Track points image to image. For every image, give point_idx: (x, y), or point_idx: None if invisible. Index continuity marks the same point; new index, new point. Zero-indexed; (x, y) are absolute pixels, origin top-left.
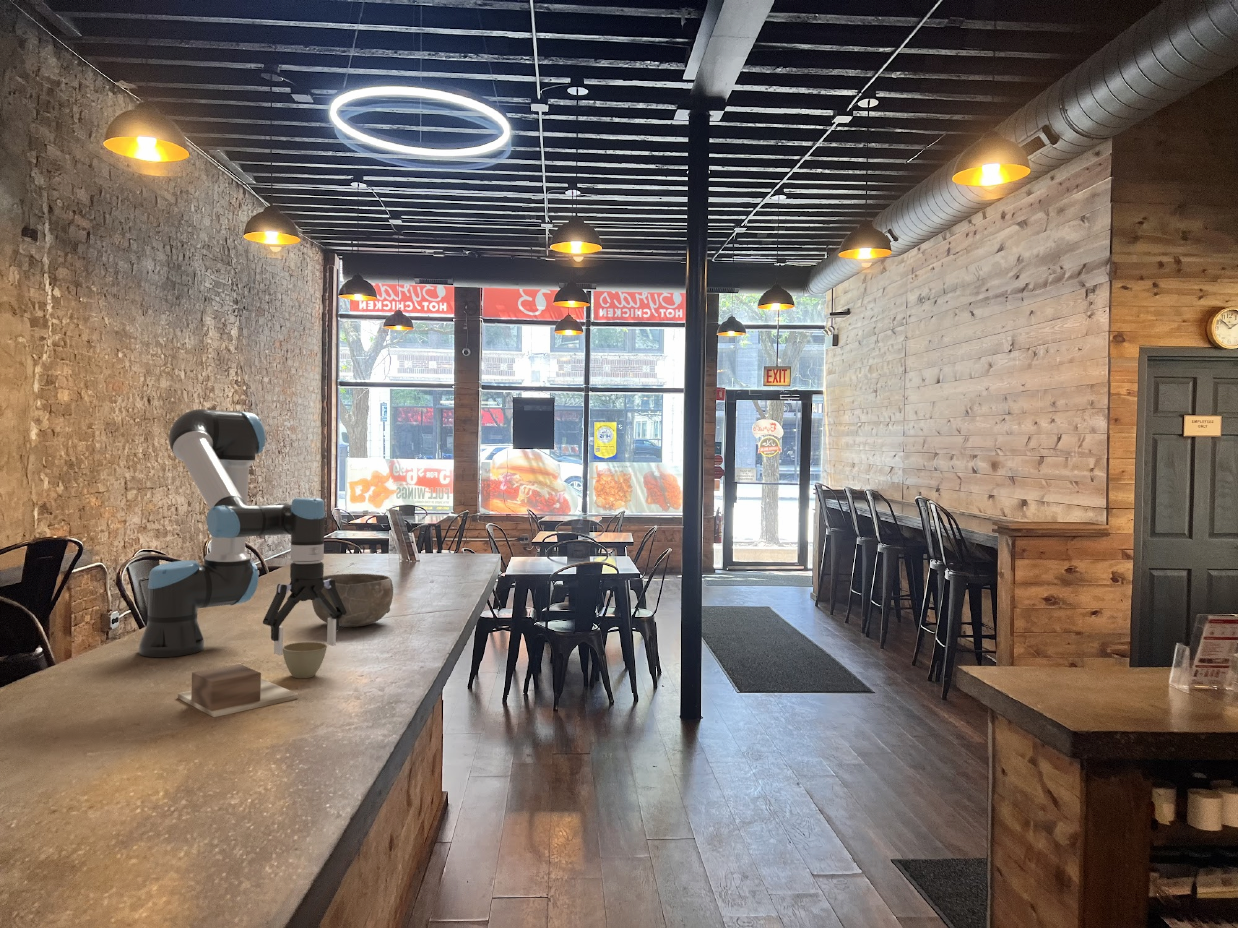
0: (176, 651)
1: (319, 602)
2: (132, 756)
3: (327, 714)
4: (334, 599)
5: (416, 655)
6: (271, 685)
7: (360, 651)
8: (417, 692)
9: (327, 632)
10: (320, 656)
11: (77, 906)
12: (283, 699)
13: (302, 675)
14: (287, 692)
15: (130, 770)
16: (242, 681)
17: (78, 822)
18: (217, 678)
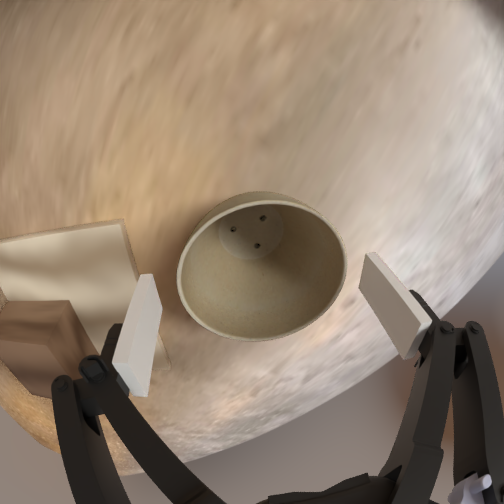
0: None
1: (414, 422)
2: (14, 386)
3: (188, 413)
4: (460, 419)
5: (491, 230)
6: None
7: (474, 112)
8: (330, 396)
9: (387, 280)
10: (284, 313)
11: (58, 452)
12: None
13: (232, 263)
14: (154, 355)
15: (24, 401)
16: None
17: (29, 424)
18: (33, 387)
